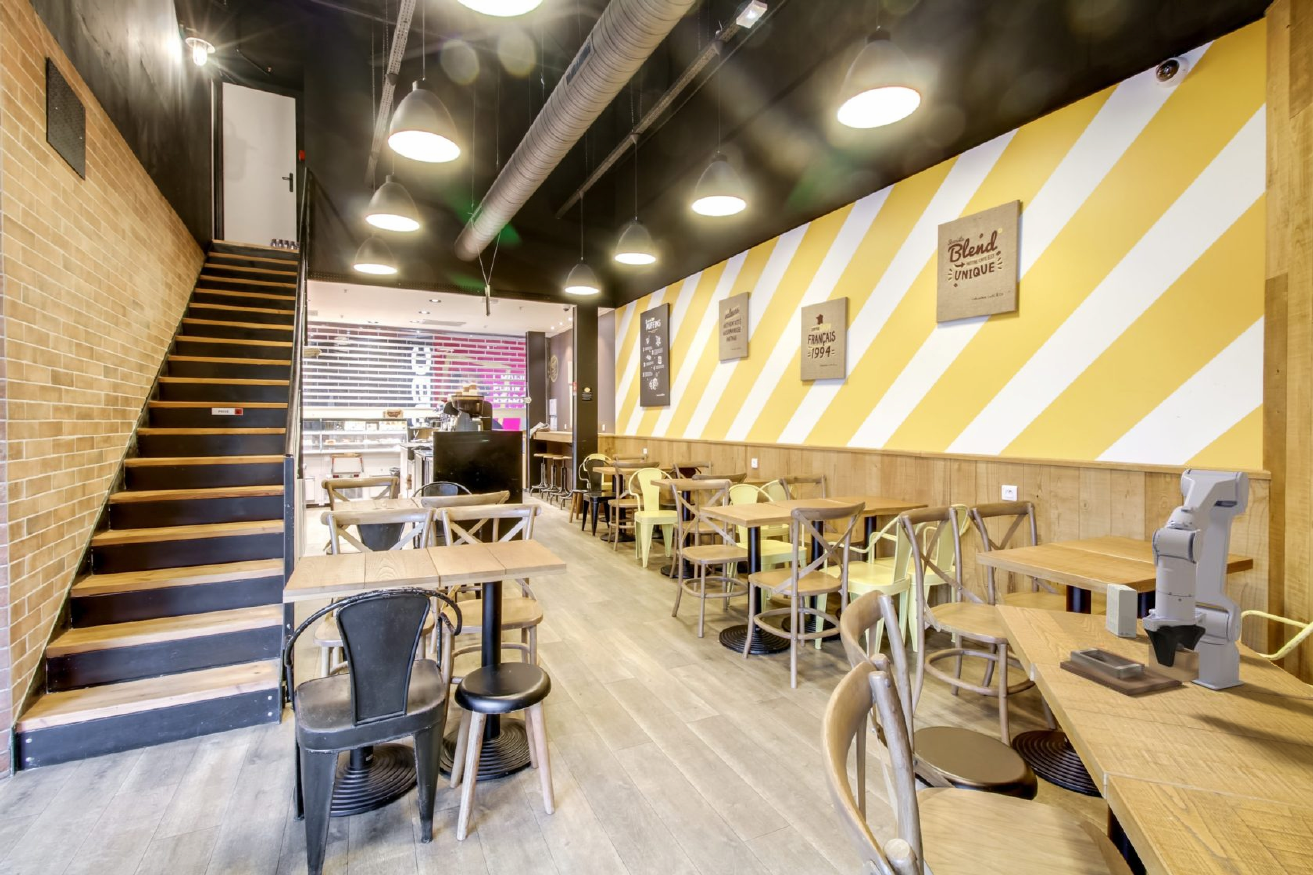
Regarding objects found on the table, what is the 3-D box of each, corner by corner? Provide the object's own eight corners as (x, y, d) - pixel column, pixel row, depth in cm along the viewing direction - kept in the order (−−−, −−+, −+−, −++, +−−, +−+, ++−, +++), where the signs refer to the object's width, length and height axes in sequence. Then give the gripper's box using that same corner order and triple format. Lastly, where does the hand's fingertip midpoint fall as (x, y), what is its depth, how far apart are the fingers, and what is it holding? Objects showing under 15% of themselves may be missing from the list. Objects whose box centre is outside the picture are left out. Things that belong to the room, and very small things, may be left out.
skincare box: (1137, 638, 150) (1138, 590, 150) (1117, 637, 151) (1119, 589, 151) (1123, 630, 156) (1124, 584, 156) (1105, 628, 157) (1106, 583, 157)
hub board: (1112, 658, 137) (1112, 644, 137) (1182, 684, 124) (1182, 668, 124) (1060, 667, 132) (1060, 652, 132) (1127, 695, 119) (1127, 678, 119)
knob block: (1163, 666, 118) (1163, 636, 117) (1199, 678, 112) (1199, 648, 112) (1148, 669, 116) (1148, 640, 116) (1184, 682, 111) (1184, 651, 110)
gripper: (1177, 583, 120) (1175, 650, 120) (1125, 589, 115) (1124, 660, 115) (1220, 593, 113) (1217, 664, 113) (1167, 600, 108) (1165, 674, 109)
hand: (1173, 663), depth 114 cm, fingers closed on knob block, 4 cm apart
